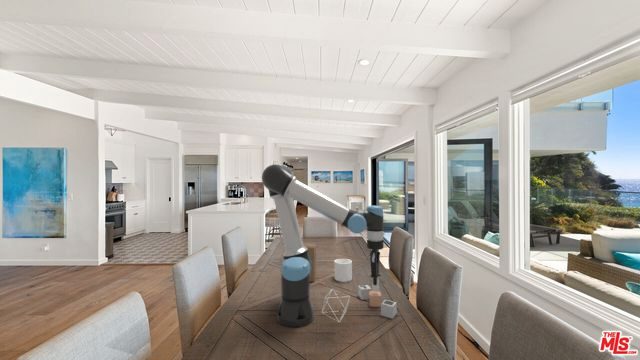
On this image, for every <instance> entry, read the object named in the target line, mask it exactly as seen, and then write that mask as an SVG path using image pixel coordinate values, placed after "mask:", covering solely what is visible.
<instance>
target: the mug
mask: <svg viewBox="0 0 640 360" xmlns="http://www.w3.org/2000/svg"><path fill="white" fill-rule="evenodd" d="M352 262H353V261H352V260H351V259H348V258H337V259H334V280H335V281H336V282H340V283H347V282H348V283H349V282H350V281H352V279H353V277H352V276H353V273H352V272H353V270H352V269H353V263H352Z"/></svg>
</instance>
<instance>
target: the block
mask: <svg viewBox="0 0 640 360" xmlns="http://www.w3.org/2000/svg"><path fill="white" fill-rule="evenodd" d="M303 246H305V247H306V248H307V249H308V253H309V257H310V259H311V261H312V270H311V274H310V283H314V282H315V281H316V278H317V243H315V242H303Z"/></svg>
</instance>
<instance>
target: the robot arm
mask: <svg viewBox="0 0 640 360" xmlns="http://www.w3.org/2000/svg"><path fill="white" fill-rule="evenodd" d="M261 182H262V183H263V184H262V185H263V186H264V187H265V188H266V189H267V190H268V193H269V198H271V199H273V201H274V206H275V209H276V215H277V219H278V223H279V229H280V233H281V236H282V237H281V238H282V241H283V245H284V246H283V247H284V249H285V250H284V252H283V254H282V257H283V261H282V264H281V267H280V272H281V273H280V275H281V280H280V281H281V282H280V283H281V292H280V293H281V294H280V295H281V297H280V298H281V299H280V302H279V305H278V309H277V312H276V319H277V323H279V324H280V325H282V326H285V327H291V328H296V327H304V326H306V325H309V324H310V323H311V322H312V321H313V320H314V318H315V317H314V316H315V311H314V309H313V305H312V303H311V299H310V295H311V294H310V289H311V288H310V284H311V282H310V274H311V270H312V261H311V259H310V257H309V253H308V249H307V248H306V247H305V246H303V243H304V242H303V238H302V233H301V229H300V225H299V220H298V216H297V211H296V206H295V201H297V203H301V204H302V205H303V206H305V207H308V208H310V209H312V210H313V211H315V212H317V213H319V214H320V215H322V216H323V217H324V216H325V218H326V217H327V218H328V219H329V220H332V221H334V222H335V223H338V224H340V225H341V227H343V228H346V229H348V230H349V231H350V232H351V233H354V234H361V233H363V232H364V231H365V230H366V248H367V249H369V250H371V252H370V254H369V255H370V256H369V257H370V273H371V274H370V278H371V279H372V280H371V291H374V292H380V289H379V281H380V280H379V277H381V274H380V260H381V259H380V256H381V252H380V250H384V245H385V244H384V236H385V234H386V233H385V232H384V208H383V206H380V205H367V206H366V209H365V210H364V209H363V210H357V209H356V210H352V209H351V208H349V207H347V206H346V205H343V204H342V203H340V202H337V201H336V200H335V199H333V198H330V196H327V195H325V194H324V193H321V192H319V191H318V190H316V189H314V188H312V187H310V186H309V185H307V184H305V183H303V182H301V181H300V180H298V179H297V177H296V176H295V175H294V174H292V171H291V170H290V169H289V168H288V167H286V166H285V165H280V164H270V165H268V166H267V167H266V168H265V169H264V170H263V172H262V173H261ZM294 200H295V201H294Z"/></svg>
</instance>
